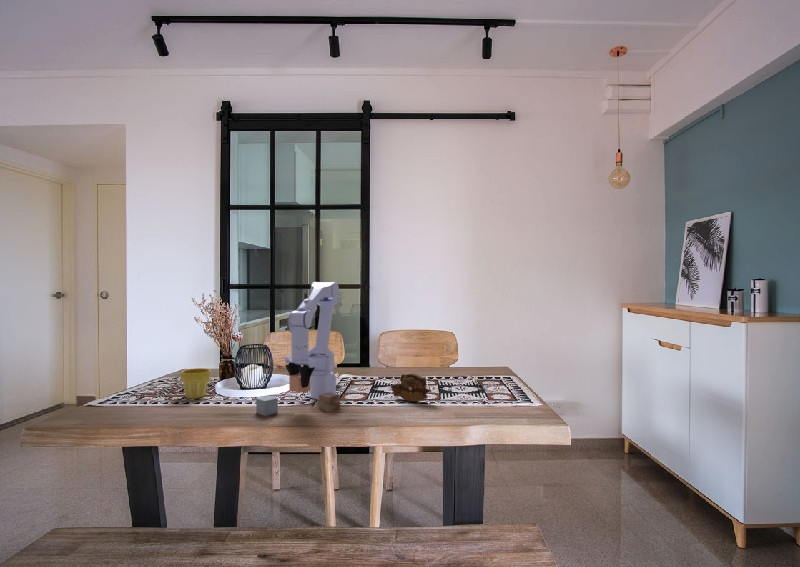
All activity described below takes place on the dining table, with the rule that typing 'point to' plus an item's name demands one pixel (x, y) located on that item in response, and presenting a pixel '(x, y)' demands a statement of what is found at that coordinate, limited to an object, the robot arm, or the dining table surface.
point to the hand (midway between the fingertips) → (300, 385)
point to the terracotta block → (297, 384)
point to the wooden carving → (411, 388)
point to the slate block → (266, 405)
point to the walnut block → (329, 401)
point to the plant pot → (195, 382)
